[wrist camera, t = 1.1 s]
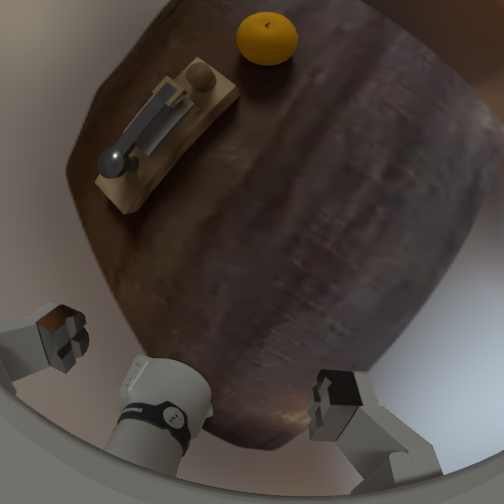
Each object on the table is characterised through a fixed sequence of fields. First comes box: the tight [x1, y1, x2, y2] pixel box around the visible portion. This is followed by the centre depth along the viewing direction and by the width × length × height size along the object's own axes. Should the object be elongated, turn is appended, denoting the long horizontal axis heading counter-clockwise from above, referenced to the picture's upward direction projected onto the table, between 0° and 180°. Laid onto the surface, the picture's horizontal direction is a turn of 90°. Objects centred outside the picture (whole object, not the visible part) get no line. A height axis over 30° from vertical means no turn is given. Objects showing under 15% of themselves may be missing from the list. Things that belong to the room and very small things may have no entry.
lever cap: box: [124, 94, 201, 158], centre depth 28 cm, size 8×5×3 cm, turn 136°
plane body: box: [95, 57, 240, 215], centre depth 30 cm, size 22×7×8 cm, turn 136°
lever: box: [98, 76, 188, 179], centre depth 26 cm, size 13×4×2 cm, turn 136°
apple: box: [236, 12, 298, 66], centre depth 26 cm, size 8×8×8 cm
